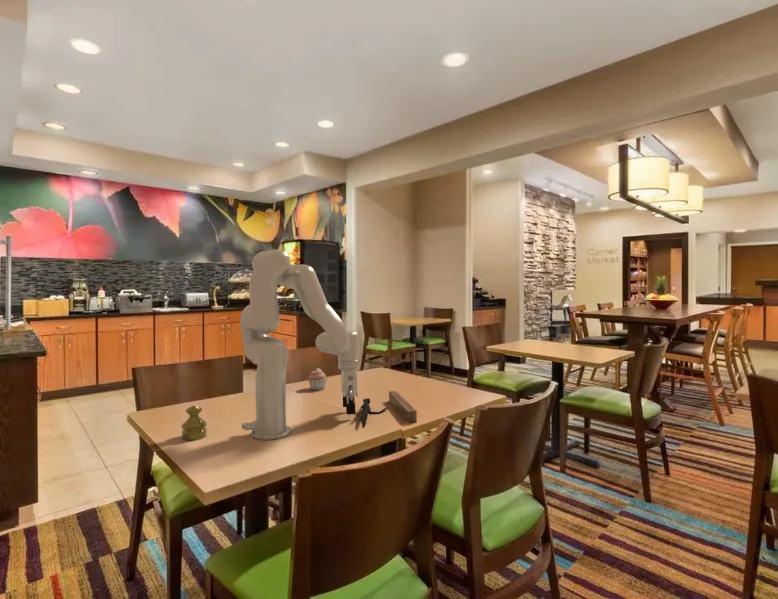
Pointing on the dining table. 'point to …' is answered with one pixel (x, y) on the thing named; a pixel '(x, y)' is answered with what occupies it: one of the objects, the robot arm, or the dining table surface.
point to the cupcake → (317, 380)
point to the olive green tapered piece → (194, 425)
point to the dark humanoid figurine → (367, 411)
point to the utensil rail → (403, 406)
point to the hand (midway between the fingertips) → (348, 410)
